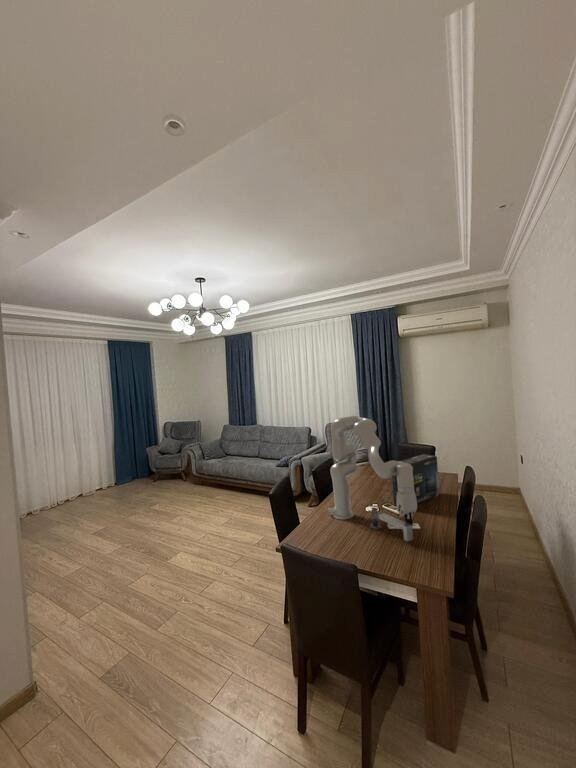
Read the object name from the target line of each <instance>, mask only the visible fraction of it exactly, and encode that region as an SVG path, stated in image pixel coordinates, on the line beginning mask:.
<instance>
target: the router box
mask: <svg viewBox="0 0 576 768" xmlns="http://www.w3.org/2000/svg"><path fill="white" fill-rule="evenodd" d="M397 461H398V462H400V463H408V464H410V465H411V466H412V471H413V483H414V491H415V494H416V499H417V506H419V505H421V504H424V503H426V502H428V501H431V500H433V499H434V497H435V498H437V496H438V497H440V487H439V483H440V482H439V472H438V457H437V456H436V455H431V454H426V453H425V454H424V453H422V454H420V455H415V456H412V457H409V458H405V459H401V460H397ZM391 481H392V483H391V484H392V485H391V486H392V499H393V503H392V504H393V506H396V507H397V502H396V501H397V492H398V483H397V475H396V476H393V477H391Z"/></svg>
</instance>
